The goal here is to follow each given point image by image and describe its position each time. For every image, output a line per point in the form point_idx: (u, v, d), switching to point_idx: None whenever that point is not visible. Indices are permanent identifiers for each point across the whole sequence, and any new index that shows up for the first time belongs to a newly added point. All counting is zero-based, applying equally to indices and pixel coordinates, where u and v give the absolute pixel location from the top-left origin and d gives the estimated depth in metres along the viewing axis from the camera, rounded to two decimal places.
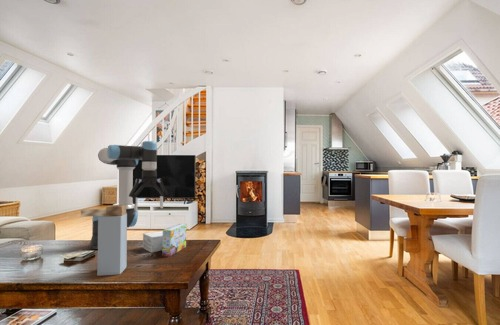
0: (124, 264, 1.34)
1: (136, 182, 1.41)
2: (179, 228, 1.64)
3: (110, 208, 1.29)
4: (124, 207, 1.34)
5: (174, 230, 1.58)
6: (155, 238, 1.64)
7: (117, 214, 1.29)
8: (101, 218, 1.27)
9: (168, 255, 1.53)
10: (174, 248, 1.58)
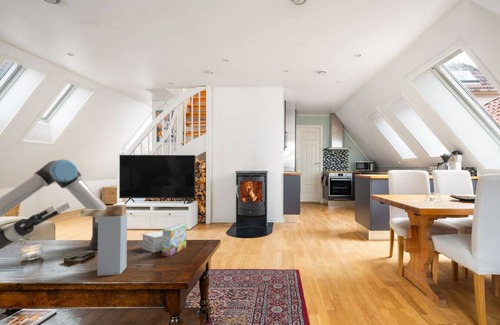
0: (124, 264, 1.34)
1: None
2: (179, 228, 1.64)
3: (110, 208, 1.29)
4: (124, 207, 1.34)
5: (174, 230, 1.58)
6: (157, 238, 1.64)
7: (117, 214, 1.29)
8: (101, 218, 1.27)
9: (168, 255, 1.53)
10: (174, 248, 1.58)
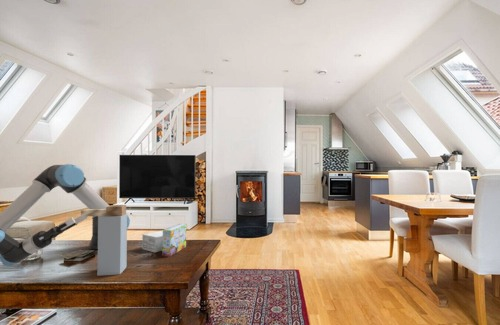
0: (124, 264, 1.34)
1: None
2: (179, 228, 1.64)
3: (110, 208, 1.29)
4: (124, 207, 1.34)
5: (174, 230, 1.58)
6: (158, 238, 1.64)
7: (117, 214, 1.29)
8: (101, 218, 1.27)
9: (168, 255, 1.53)
10: (174, 248, 1.58)
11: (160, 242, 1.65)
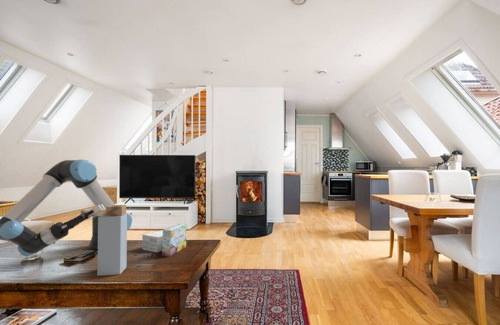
0: (124, 264, 1.34)
1: (79, 222, 1.35)
2: (179, 228, 1.64)
3: (110, 208, 1.29)
4: (124, 207, 1.34)
5: (174, 230, 1.58)
6: (160, 238, 1.64)
7: (117, 214, 1.29)
8: (101, 218, 1.27)
9: (168, 255, 1.53)
10: (174, 248, 1.58)
11: (161, 242, 1.65)
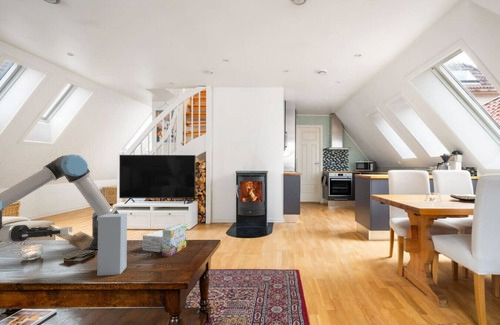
0: (124, 264, 1.34)
1: None
2: (179, 228, 1.64)
3: (76, 237, 1.26)
4: (90, 240, 1.31)
5: (174, 230, 1.58)
6: (162, 238, 1.65)
7: (79, 246, 1.26)
8: (101, 218, 1.27)
9: (168, 255, 1.53)
10: (174, 248, 1.58)
11: None
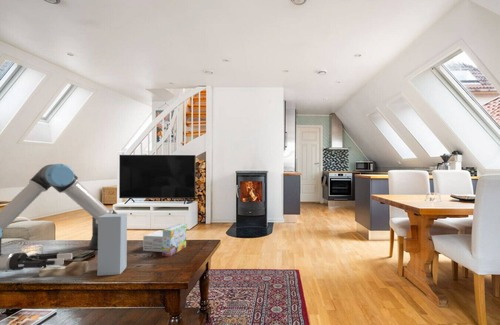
0: (124, 264, 1.34)
1: None
2: (179, 228, 1.64)
3: (69, 268, 1.25)
4: (85, 265, 1.30)
5: (174, 230, 1.58)
6: None
7: (77, 274, 1.26)
8: (101, 218, 1.27)
9: (168, 255, 1.53)
10: (174, 248, 1.58)
11: None
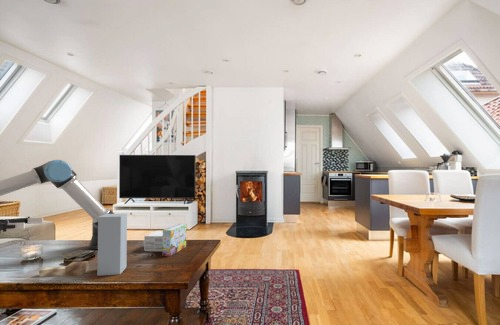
0: (124, 264, 1.34)
1: None
2: (179, 228, 1.64)
3: (69, 268, 1.25)
4: (85, 265, 1.30)
5: (174, 230, 1.58)
6: None
7: (77, 274, 1.26)
8: (101, 218, 1.27)
9: (168, 255, 1.53)
10: (174, 248, 1.58)
11: None
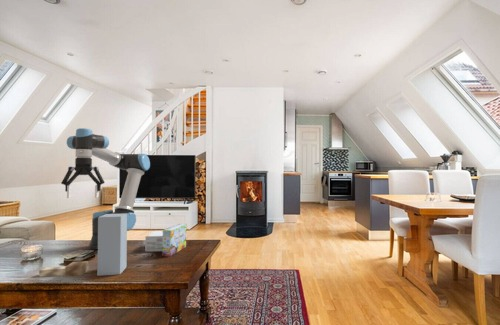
0: (124, 264, 1.34)
1: (68, 170, 1.42)
2: (179, 228, 1.64)
3: (69, 268, 1.25)
4: (85, 265, 1.30)
5: (174, 230, 1.58)
6: None
7: (77, 274, 1.26)
8: (101, 218, 1.27)
9: (168, 255, 1.53)
10: (174, 248, 1.58)
11: None
